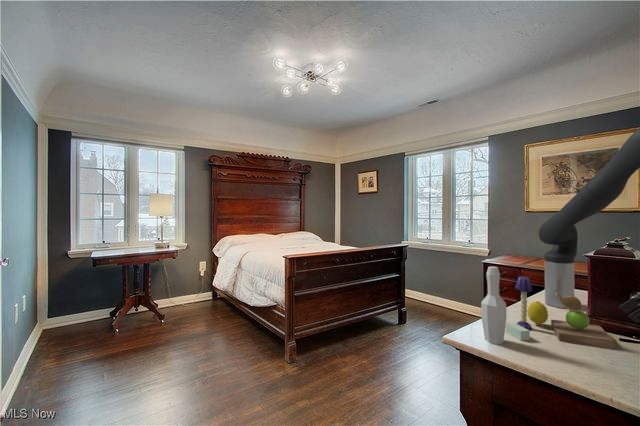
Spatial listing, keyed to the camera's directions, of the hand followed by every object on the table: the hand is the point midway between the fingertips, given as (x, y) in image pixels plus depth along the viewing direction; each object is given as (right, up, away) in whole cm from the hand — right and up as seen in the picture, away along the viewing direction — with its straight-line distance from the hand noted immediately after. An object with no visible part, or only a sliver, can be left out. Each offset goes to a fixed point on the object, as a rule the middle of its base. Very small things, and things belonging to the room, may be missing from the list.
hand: (626, 314), depth 85 cm
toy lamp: (-20, -9, +13) cm, 26 cm away
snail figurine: (-9, -6, +5) cm, 12 cm away
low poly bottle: (-35, -9, +4) cm, 37 cm away
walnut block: (-8, -9, +6) cm, 14 cm away
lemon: (-14, -9, +15) cm, 23 cm away
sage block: (-26, -9, +7) cm, 29 cm away
